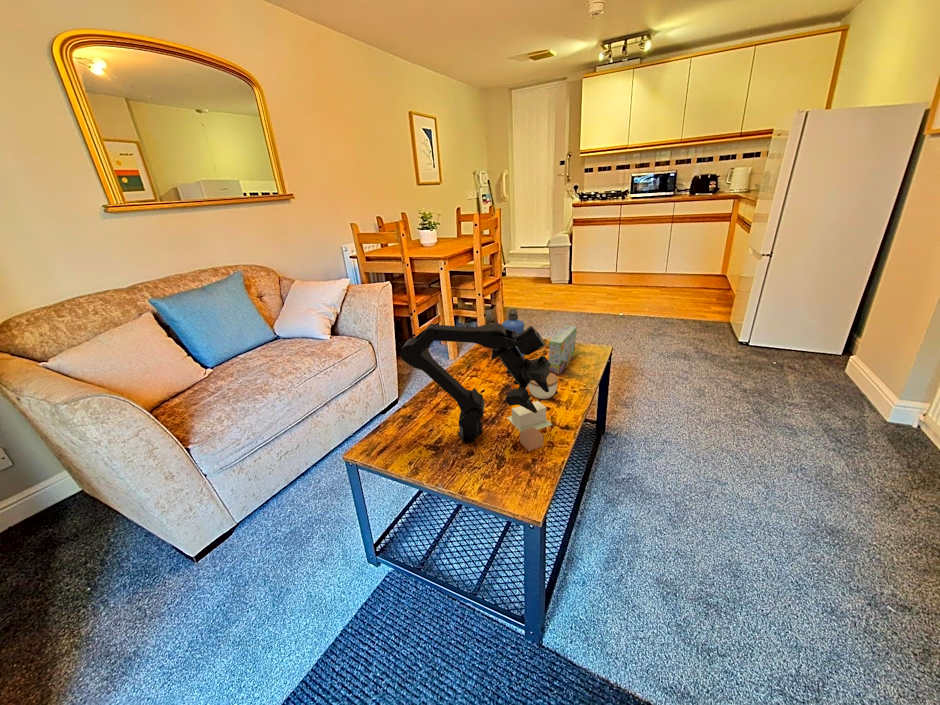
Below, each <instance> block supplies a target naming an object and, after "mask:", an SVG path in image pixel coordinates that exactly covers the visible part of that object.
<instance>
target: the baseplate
mask: <svg viewBox="0 0 940 705" xmlns="http://www.w3.org/2000/svg"><path fill="white" fill-rule="evenodd" d="M506 419H507V420H508V421H509V422H510V423H511V425H513V426H514V427H515V428H516V429H517V430H518V431H519V432H520V431H523V430H526V429H529V428H533V427H535V428H536V429H537V430H538V431H539V430H541V429H544V428H547V427H550V426H553V423H551V421H550V420H548V419H547V418H546V421H543V422H540V423H537V424H534V425H531V426H528V427H525V428H522V429H519V428H518V427H517V426H516V425H515V424H514V423H513V422H512V415H510V416H507V417H506Z"/></svg>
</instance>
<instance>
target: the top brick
mask: <svg viewBox="0 0 940 705" xmlns="http://www.w3.org/2000/svg"><path fill="white" fill-rule="evenodd" d="M519 443H520V444H521V445H522V446H523V447H524V448H525V449H526V451H528V452H531V451H533V450H536V449H540V448H542V447H544V434H543V433H541V432H540V430H539V429H538V430H537V429H536V428H535V427H533V428H529V429H526V430H523V431H519Z"/></svg>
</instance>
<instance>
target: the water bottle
mask: <svg viewBox="0 0 940 705" xmlns="http://www.w3.org/2000/svg"><path fill="white" fill-rule="evenodd" d="M501 325H503V326H504V327H505V329H508V330H511V331H514V332H516V333H517V335H518V334H519V333H521V332H523V331H525V322H524V321H522V320H519V314H518V311H517V310H516V309H515V308H511V309H510V310H509V311H508V314H507V319H506V320H505V321H503V322H502V323H501ZM516 348H517V349H518V347H517V346H516ZM518 351H519V352H520V350H519V349H518ZM520 354H521V355H522V356H523V358H524V359H525V355H524V354H522V353H521V352H520ZM503 366H504V367H505V368H506V366H505V365H504V364H503Z"/></svg>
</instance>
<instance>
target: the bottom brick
mask: <svg viewBox="0 0 940 705" xmlns="http://www.w3.org/2000/svg"><path fill="white" fill-rule="evenodd" d="M531 402H532V401H531ZM532 403H533V405H534V406H535V408H536V410H537V413H534V412H532V411H530V410H528V409H526V408H524V407H522V406H520V405H518V406H516V407H513V408H511V416H512V422H513V423H514V424H515V425H516V426H517V427H518V428H519V429H522V428H525V427H528V426H531V425H534V424H537V423H540V422H543V421H546V419H547V407H546V406H545V405H544V404H542V402H540V401H539V400H536V401H533V402H532Z"/></svg>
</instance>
